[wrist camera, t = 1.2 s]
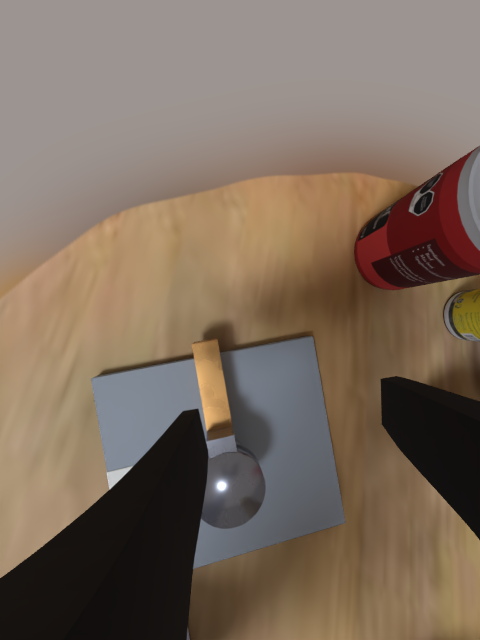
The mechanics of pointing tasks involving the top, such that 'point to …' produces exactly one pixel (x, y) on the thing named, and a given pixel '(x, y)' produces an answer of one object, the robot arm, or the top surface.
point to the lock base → (237, 436)
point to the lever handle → (225, 450)
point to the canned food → (426, 232)
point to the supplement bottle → (464, 315)
